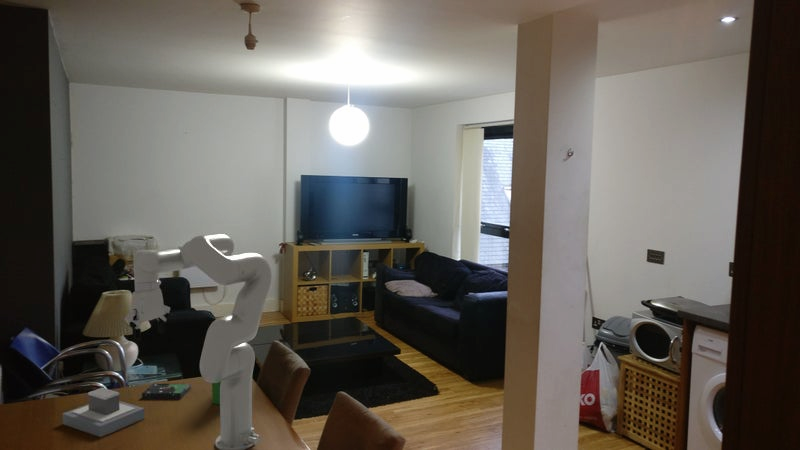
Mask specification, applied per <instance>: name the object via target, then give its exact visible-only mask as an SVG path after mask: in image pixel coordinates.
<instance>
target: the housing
mask: <svg viewBox="0 0 800 450" xmlns="http://www.w3.org/2000/svg"><path fill="white" fill-rule="evenodd" d="M87 394H88V395H87V399H88V403H87V404H88V405H89V410H91V411H94V412H97V413H100V414H104V415H107V414H110V413H113V412H115V411H118V410H120V407H119V401H120V392H118V391H116V390H112V389H108V388H105V387H100V388H97V389H95V390H91V391H89V392H87Z"/></svg>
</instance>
